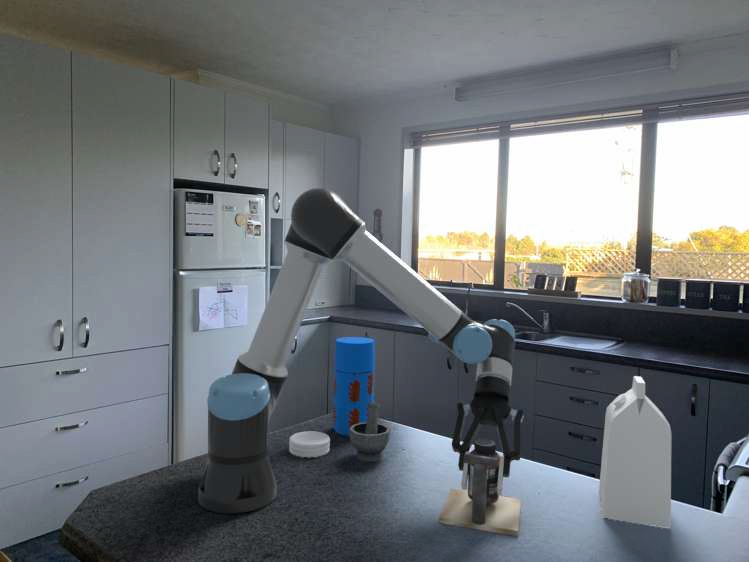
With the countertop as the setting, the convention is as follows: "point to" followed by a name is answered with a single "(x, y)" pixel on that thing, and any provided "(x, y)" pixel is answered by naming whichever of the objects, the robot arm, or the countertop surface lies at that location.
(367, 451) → the mortar and pestle
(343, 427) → the thermos
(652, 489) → the milk
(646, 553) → the countertop surface
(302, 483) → the countertop surface
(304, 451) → the white round container
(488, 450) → the supplement bottle
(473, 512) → the headphone stand
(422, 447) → the countertop surface
